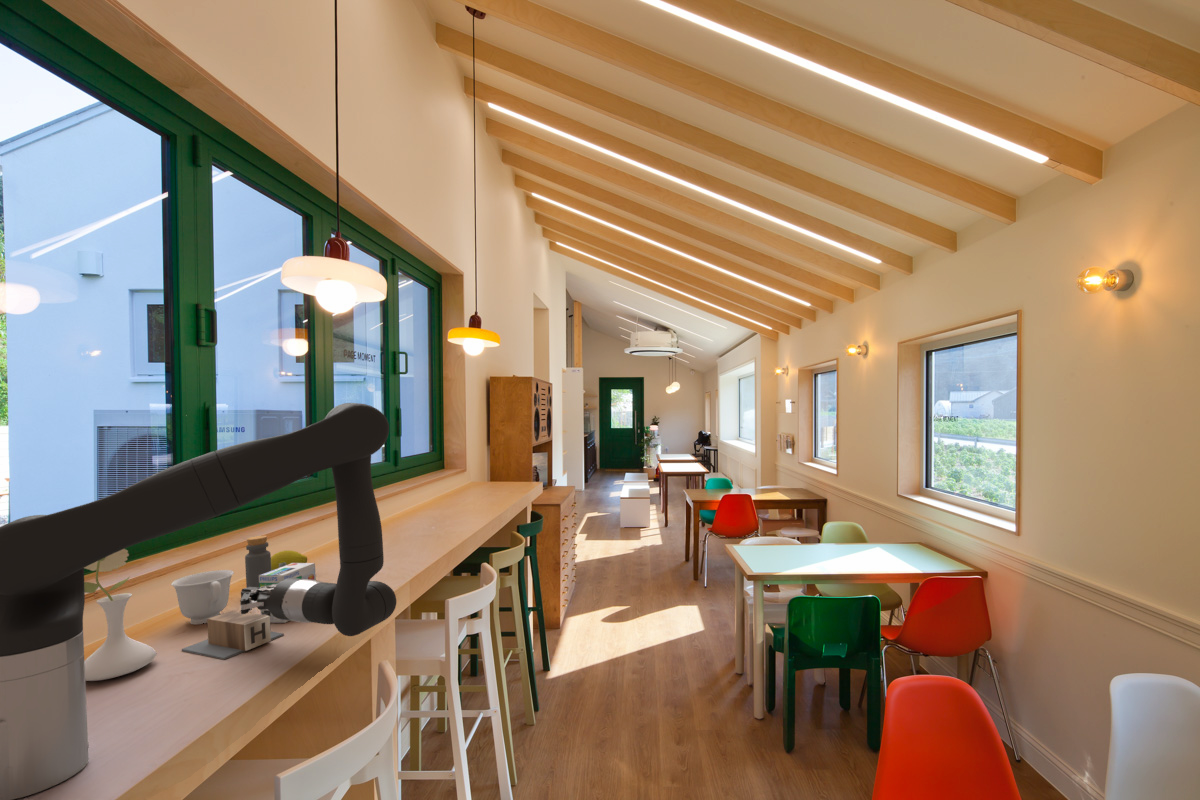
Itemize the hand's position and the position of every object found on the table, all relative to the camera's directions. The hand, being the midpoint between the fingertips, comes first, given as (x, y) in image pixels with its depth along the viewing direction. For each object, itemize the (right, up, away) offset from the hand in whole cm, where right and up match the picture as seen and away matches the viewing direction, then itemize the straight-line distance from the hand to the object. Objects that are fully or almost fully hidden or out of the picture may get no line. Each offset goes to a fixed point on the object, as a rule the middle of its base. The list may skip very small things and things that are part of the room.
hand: (245, 593), depth 112 cm
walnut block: (+4, -7, -2) cm, 8 cm away
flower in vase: (-19, -12, -9) cm, 24 cm away
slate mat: (-3, -11, +2) cm, 11 cm away
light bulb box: (-1, -11, +17) cm, 21 cm away
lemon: (-20, -13, +51) cm, 56 cm away
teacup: (-19, -13, +17) cm, 29 cm away
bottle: (-19, -13, +37) cm, 43 cm away
